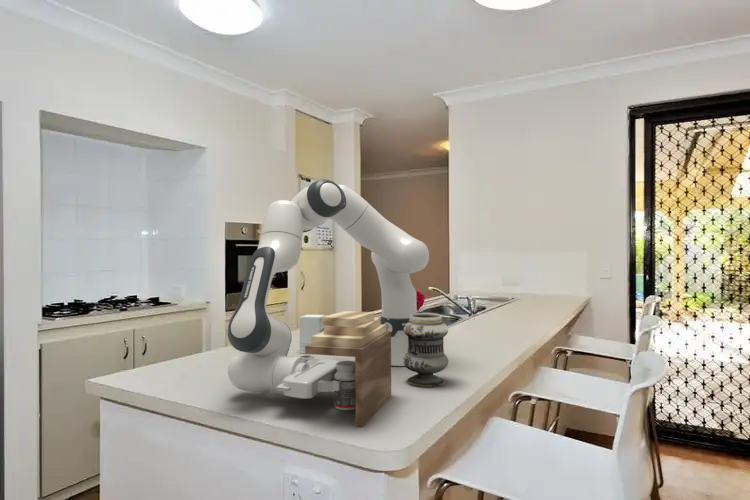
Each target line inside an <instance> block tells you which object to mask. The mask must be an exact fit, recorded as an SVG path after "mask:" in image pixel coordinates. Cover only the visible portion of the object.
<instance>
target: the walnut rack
mask: <svg viewBox="0 0 750 500" xmlns="http://www.w3.org/2000/svg"><path fill="white" fill-rule="evenodd" d="M305 354H306V355H319V356H333V357H351V358H354V359H355V360H354V362H355V395H356V409H355V428H364V426H366V424H367V423H368V422H369V421H370V420H371V418H372V417H373V416H374V415H375V414H376V413H377V412H378V411H379V409H380V408H382V406H383V405H385V403H386V402H387V401H388V399H390V397H391V396H392V365H391V331H386V333H384V334H383V335H381V336H379V337H378V338H376V339H374V340H373V341H371V342H370V343H368V344H366V345H365V346H363V347H361V348H356V347H339V346H322V345H311V344H309V345H307V346H305ZM305 354H304V355H305Z"/></svg>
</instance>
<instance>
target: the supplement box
mask: <svg viewBox="0 0 750 500" xmlns="http://www.w3.org/2000/svg"><path fill="white" fill-rule="evenodd" d="M324 316H326V314H305V315H302V316H300V317H299V354H304V355H305V346H307V345H309V344H311V336H313V335H316V334H318V333H320V332H323V331H324V326H323V325H322V317H324Z"/></svg>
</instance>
